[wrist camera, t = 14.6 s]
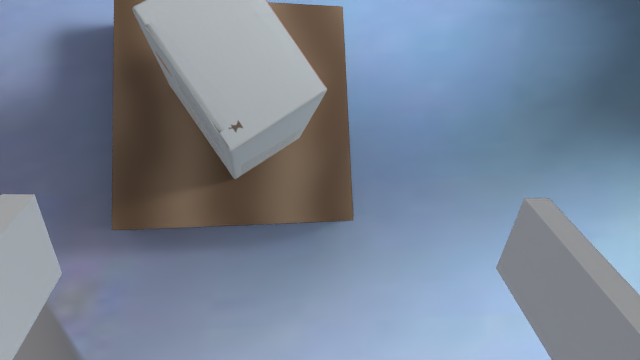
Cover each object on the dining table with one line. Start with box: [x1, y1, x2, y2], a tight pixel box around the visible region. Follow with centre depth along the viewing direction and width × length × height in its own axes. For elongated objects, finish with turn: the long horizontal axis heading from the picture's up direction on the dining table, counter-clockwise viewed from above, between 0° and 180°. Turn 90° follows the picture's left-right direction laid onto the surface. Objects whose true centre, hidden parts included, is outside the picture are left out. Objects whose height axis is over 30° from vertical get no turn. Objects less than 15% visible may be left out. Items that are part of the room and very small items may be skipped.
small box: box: [132, 0, 327, 179], centre depth 24 cm, size 8×6×10 cm
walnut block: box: [112, 0, 353, 230], centre depth 32 cm, size 16×16×5 cm
